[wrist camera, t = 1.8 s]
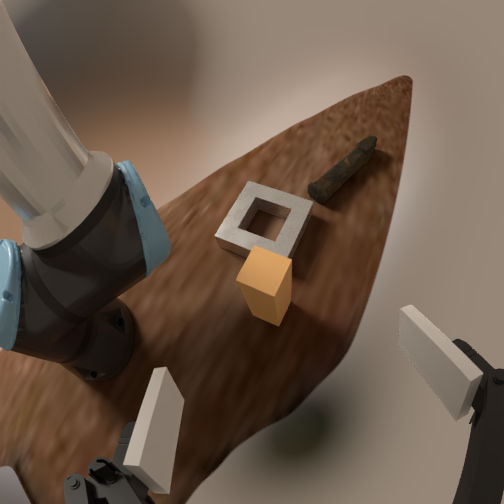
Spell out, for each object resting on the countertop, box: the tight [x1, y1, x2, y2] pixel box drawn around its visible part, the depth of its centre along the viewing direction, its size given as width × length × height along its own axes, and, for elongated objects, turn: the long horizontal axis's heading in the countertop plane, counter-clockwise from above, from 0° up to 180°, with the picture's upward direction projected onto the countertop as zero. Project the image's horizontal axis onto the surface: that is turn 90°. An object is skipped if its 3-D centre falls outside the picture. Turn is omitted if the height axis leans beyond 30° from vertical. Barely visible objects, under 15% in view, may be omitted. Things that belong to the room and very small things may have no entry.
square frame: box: [215, 181, 313, 259], centre depth 44 cm, size 11×11×4 cm
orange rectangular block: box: [236, 245, 292, 327], centre depth 33 cm, size 4×4×14 cm
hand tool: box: [308, 136, 377, 205], centre depth 47 cm, size 19×4×5 cm, turn 130°
